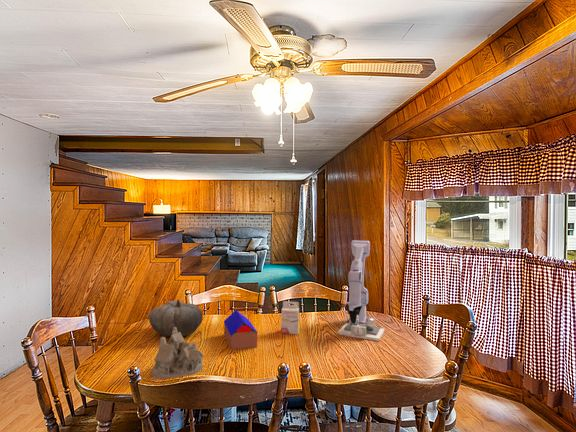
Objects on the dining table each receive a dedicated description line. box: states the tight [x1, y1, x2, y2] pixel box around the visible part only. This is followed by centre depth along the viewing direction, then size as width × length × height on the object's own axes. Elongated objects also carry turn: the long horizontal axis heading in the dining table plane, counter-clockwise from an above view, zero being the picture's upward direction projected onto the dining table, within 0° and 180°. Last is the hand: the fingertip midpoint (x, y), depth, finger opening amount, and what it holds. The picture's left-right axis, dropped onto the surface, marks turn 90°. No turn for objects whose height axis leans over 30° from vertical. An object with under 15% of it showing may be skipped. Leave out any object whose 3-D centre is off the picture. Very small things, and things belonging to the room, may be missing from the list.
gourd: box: [148, 298, 203, 338], centre depth 170 cm, size 25×25×17 cm
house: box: [223, 309, 259, 351], centre depth 161 cm, size 12×20×12 cm, turn 19°
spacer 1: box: [349, 314, 360, 326], centre depth 176 cm, size 4×4×5 cm
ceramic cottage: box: [150, 327, 204, 379], centre depth 131 cm, size 16×16×15 cm
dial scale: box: [337, 322, 386, 342], centre depth 173 cm, size 15×20×5 cm
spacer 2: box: [365, 317, 376, 330], centre depth 173 cm, size 4×4×5 cm
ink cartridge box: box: [280, 300, 300, 335], centre depth 173 cm, size 9×5×15 cm, turn 84°
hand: (354, 321), depth 176 cm, fingers closed on spacer 1, 4 cm apart
